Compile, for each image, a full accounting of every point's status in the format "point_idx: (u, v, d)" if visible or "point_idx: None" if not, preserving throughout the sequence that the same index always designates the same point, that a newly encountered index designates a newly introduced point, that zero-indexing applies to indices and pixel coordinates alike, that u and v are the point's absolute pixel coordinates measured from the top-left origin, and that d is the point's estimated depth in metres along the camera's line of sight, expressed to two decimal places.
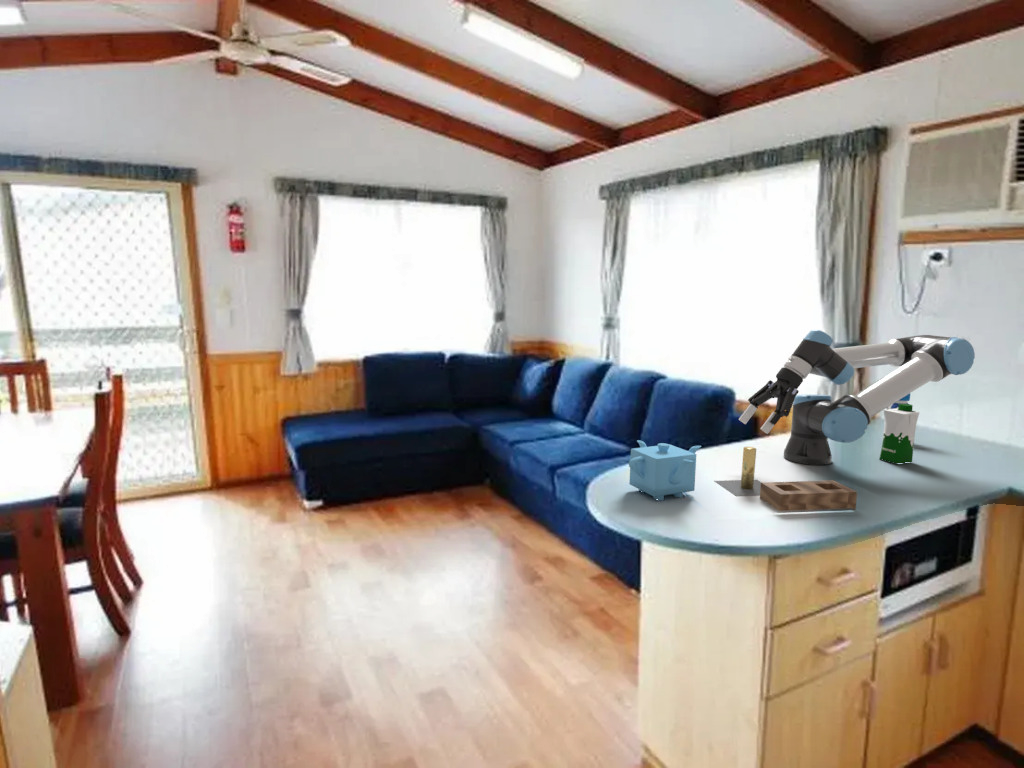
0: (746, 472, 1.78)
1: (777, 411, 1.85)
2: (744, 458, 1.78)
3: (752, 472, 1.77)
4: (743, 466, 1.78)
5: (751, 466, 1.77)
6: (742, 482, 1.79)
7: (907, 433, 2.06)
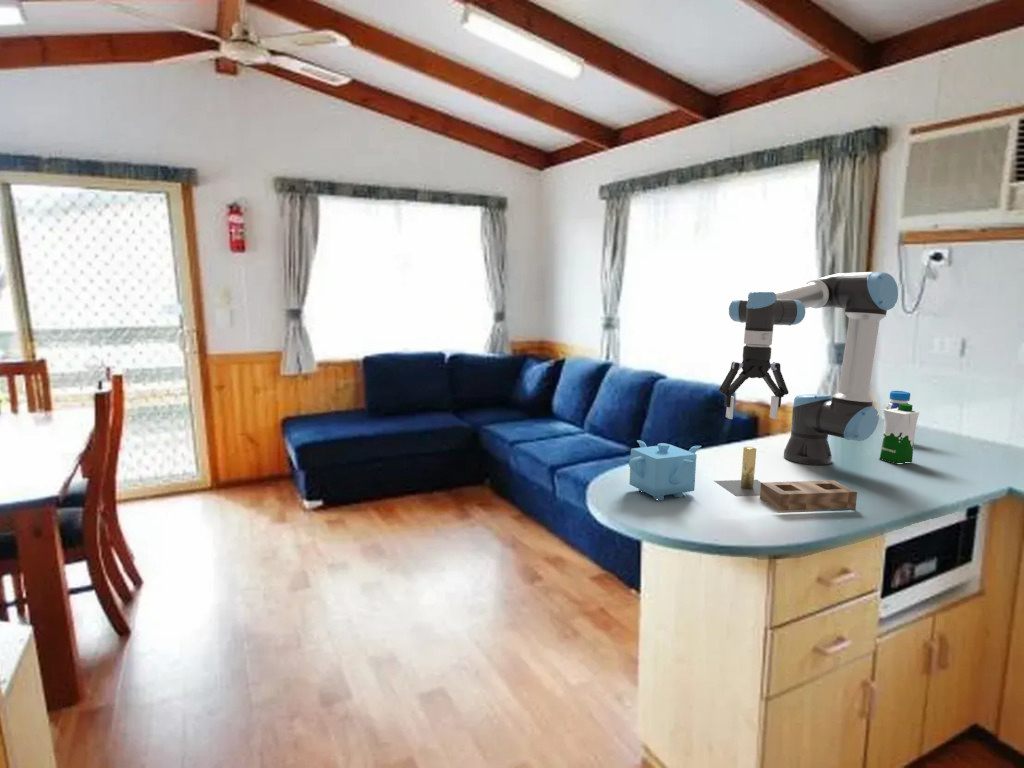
0: (746, 472, 1.78)
1: None
2: (744, 458, 1.78)
3: (752, 472, 1.77)
4: (743, 466, 1.78)
5: (751, 466, 1.77)
6: (742, 482, 1.79)
7: (907, 433, 2.06)
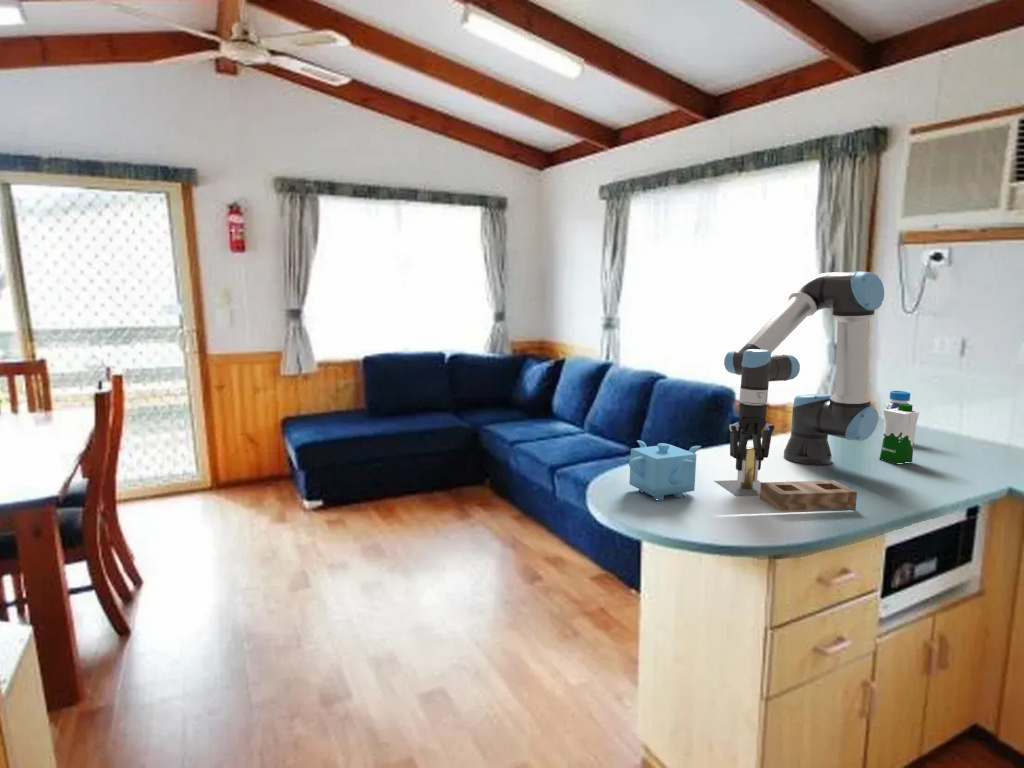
0: (746, 472, 1.78)
1: None
2: (743, 458, 1.78)
3: (751, 472, 1.77)
4: None
5: (750, 466, 1.77)
6: (741, 482, 1.79)
7: (907, 433, 2.06)
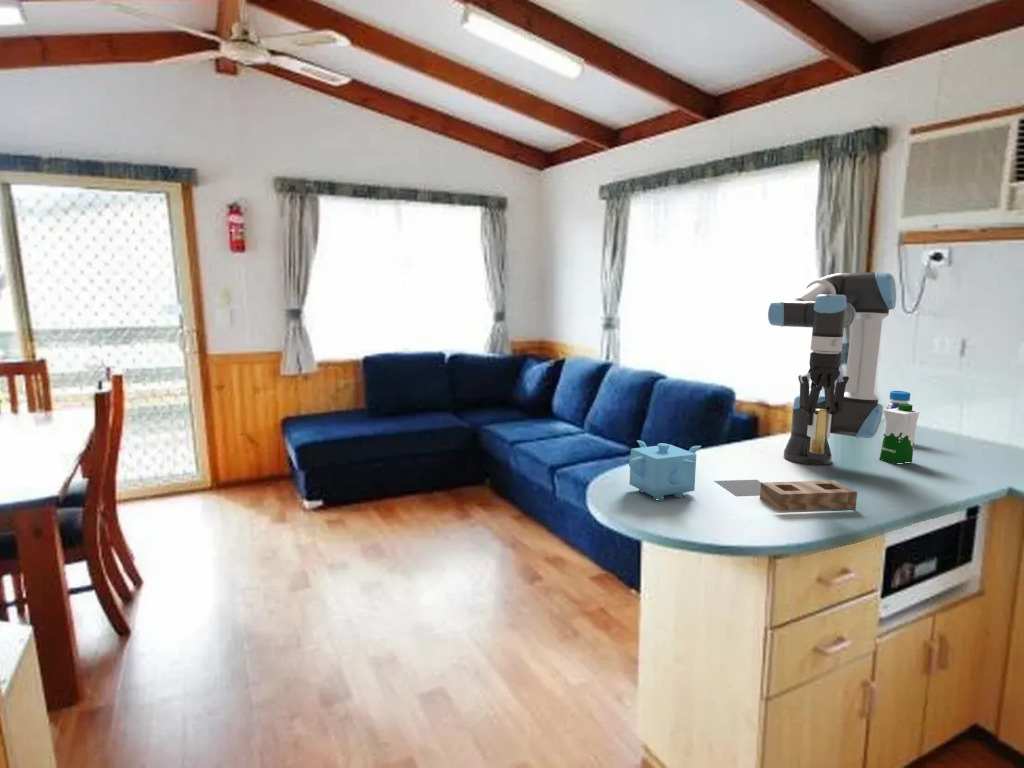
0: (817, 435, 1.66)
1: None
2: None
3: (823, 435, 1.65)
4: None
5: (822, 429, 1.65)
6: (811, 446, 1.67)
7: (907, 433, 2.06)
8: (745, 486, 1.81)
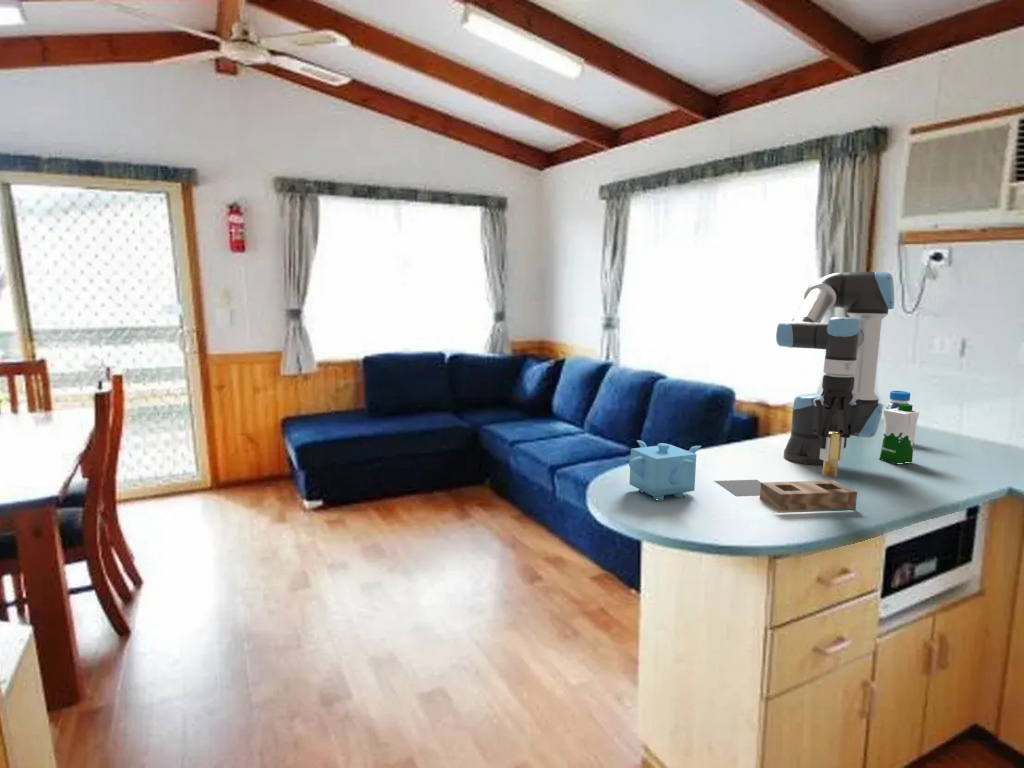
0: (830, 458, 1.65)
1: None
2: None
3: (836, 458, 1.64)
4: None
5: (835, 452, 1.64)
6: (824, 469, 1.66)
7: (907, 433, 2.06)
8: (745, 486, 1.81)
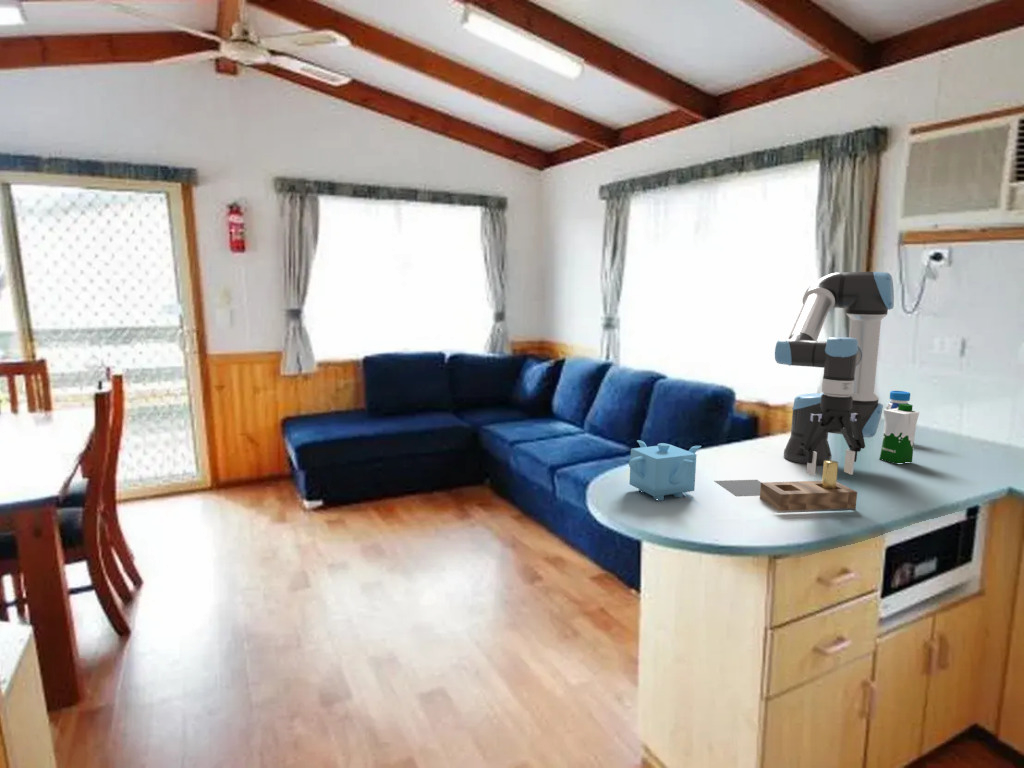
0: (827, 487, 1.66)
1: None
2: (825, 473, 1.66)
3: (833, 487, 1.66)
4: (823, 481, 1.67)
5: (832, 481, 1.65)
6: None
7: (907, 433, 2.06)
8: (745, 486, 1.81)
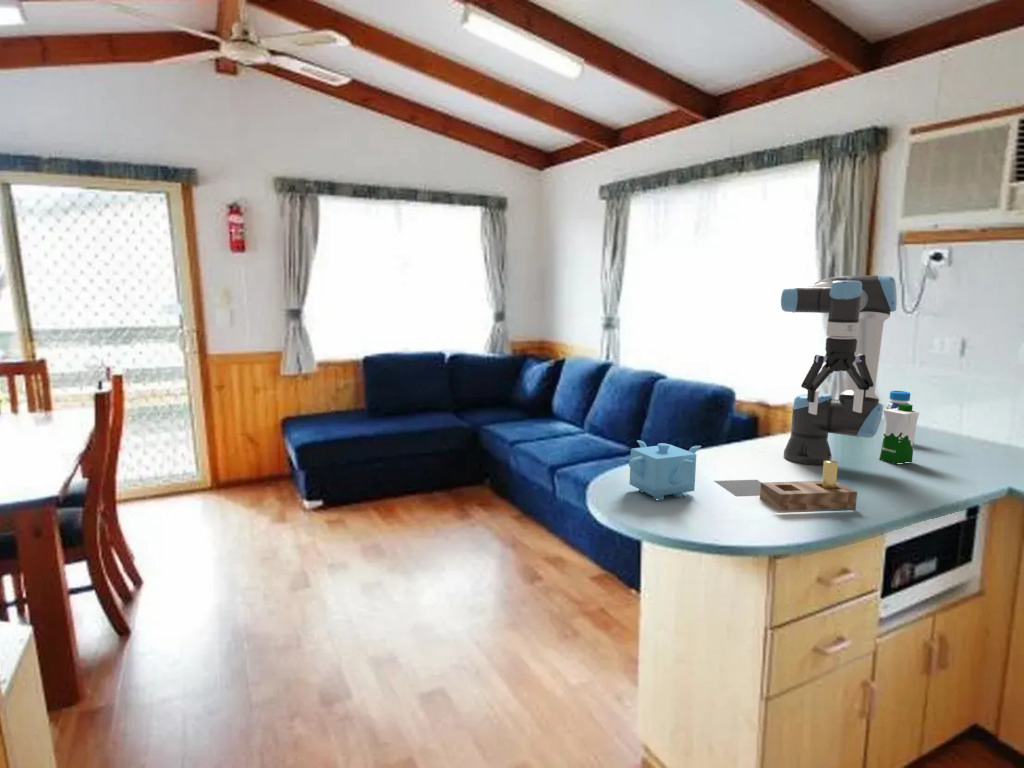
0: (827, 487, 1.66)
1: None
2: (825, 473, 1.66)
3: (833, 487, 1.66)
4: (823, 481, 1.67)
5: (832, 481, 1.65)
6: None
7: (907, 433, 2.06)
8: (745, 486, 1.81)
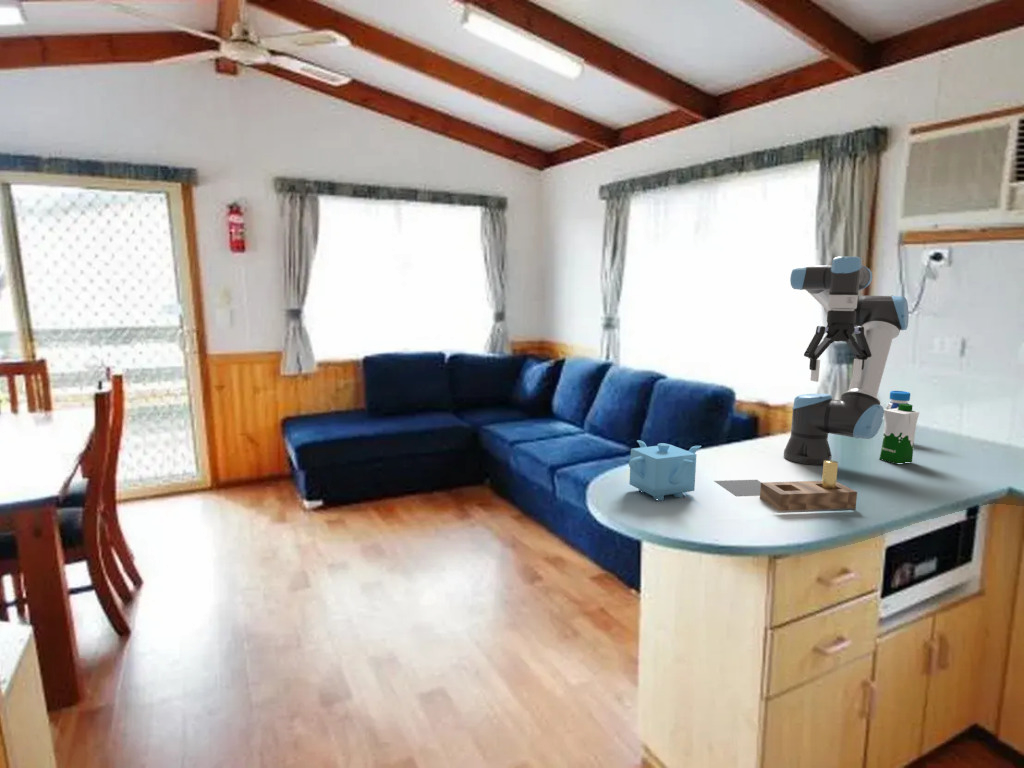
0: (827, 487, 1.66)
1: None
2: (825, 473, 1.66)
3: (833, 487, 1.66)
4: (823, 481, 1.67)
5: (832, 481, 1.65)
6: None
7: (907, 433, 2.06)
8: (745, 486, 1.81)
